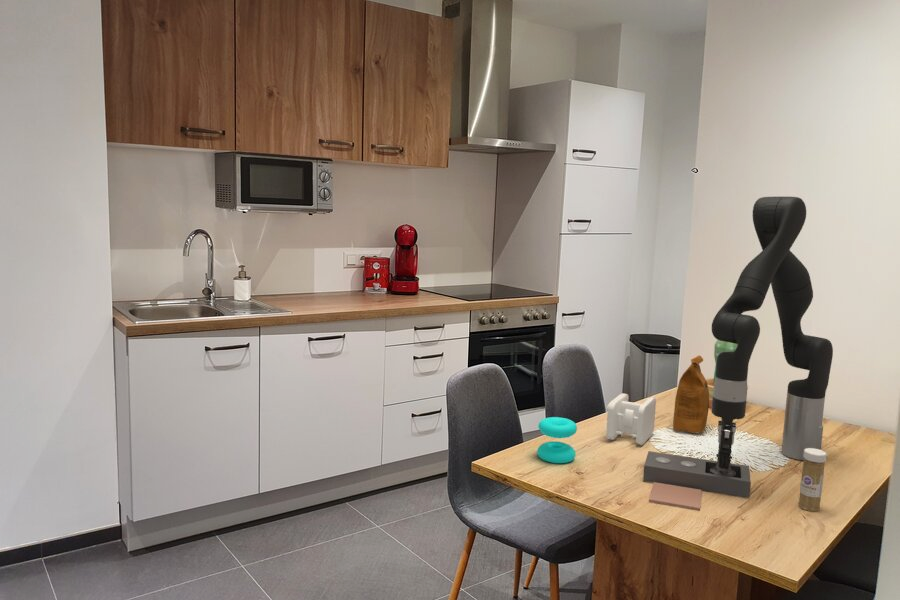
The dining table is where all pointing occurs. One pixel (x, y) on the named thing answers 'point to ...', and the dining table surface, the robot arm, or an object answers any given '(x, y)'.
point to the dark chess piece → (719, 470)
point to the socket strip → (696, 474)
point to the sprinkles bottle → (812, 479)
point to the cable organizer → (630, 418)
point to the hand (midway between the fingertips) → (723, 463)
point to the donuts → (554, 449)
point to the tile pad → (675, 496)
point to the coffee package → (691, 400)
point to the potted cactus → (719, 348)
